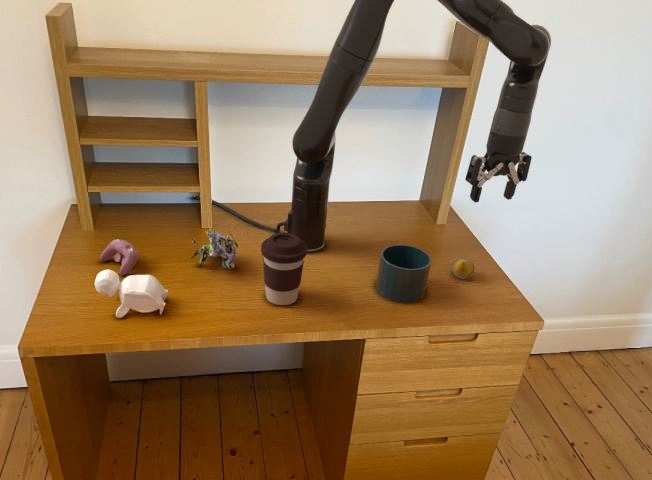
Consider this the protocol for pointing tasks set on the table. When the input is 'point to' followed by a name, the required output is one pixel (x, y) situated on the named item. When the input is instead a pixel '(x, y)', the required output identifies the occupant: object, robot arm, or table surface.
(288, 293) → the coffee cup
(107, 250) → the video game controller
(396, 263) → the pen pot
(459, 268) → the spiral grooved cone
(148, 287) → the white turtle figurine
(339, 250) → the table surface
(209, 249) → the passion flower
